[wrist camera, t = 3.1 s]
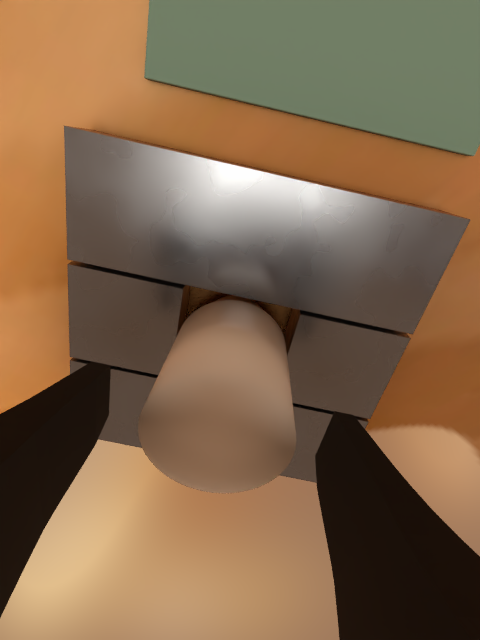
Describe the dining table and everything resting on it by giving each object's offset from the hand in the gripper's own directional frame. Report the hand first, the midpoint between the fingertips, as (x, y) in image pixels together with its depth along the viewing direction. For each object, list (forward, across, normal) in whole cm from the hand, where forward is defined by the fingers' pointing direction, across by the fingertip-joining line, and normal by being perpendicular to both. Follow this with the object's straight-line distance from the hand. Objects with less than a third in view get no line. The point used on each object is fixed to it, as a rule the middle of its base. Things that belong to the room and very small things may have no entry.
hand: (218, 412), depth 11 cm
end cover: (+6, 0, 0) cm, 6 cm away
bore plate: (+6, 0, 0) cm, 6 cm away
